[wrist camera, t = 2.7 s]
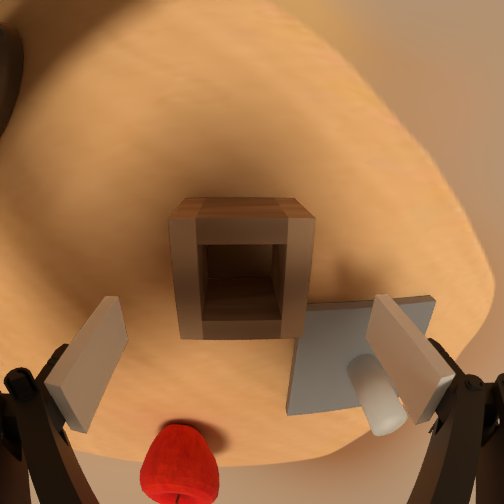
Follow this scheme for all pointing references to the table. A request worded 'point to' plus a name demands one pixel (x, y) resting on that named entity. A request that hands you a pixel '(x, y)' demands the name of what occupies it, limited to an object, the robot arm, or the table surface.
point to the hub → (241, 290)
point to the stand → (348, 363)
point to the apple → (180, 468)
